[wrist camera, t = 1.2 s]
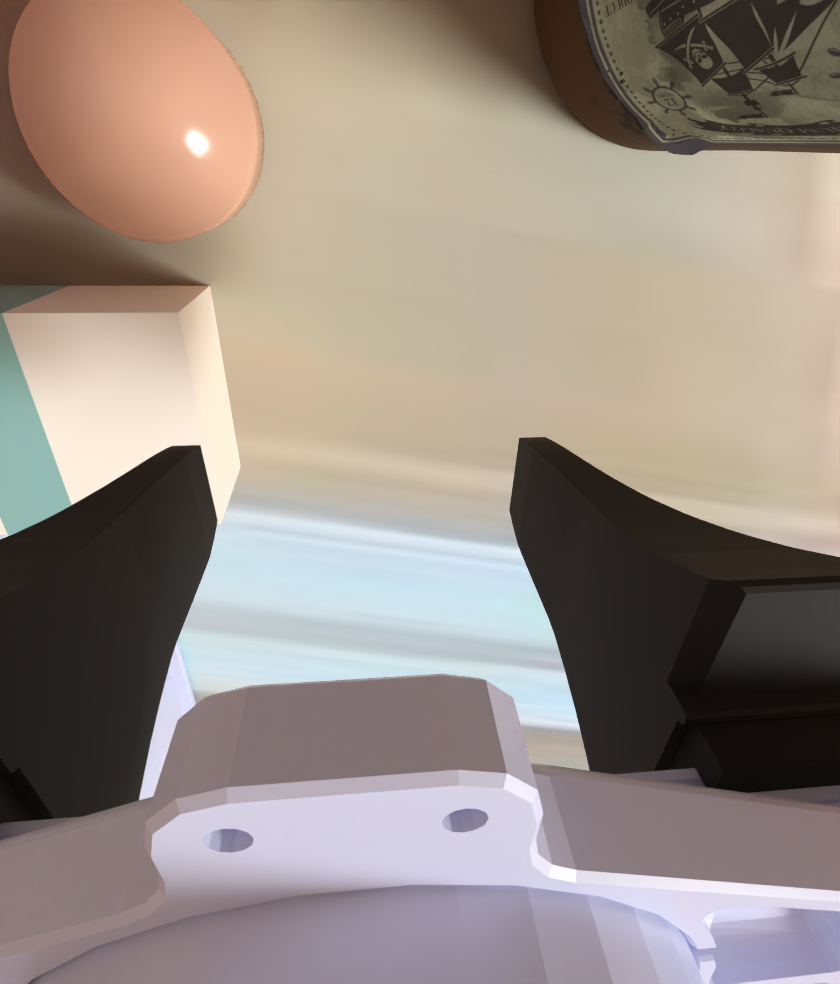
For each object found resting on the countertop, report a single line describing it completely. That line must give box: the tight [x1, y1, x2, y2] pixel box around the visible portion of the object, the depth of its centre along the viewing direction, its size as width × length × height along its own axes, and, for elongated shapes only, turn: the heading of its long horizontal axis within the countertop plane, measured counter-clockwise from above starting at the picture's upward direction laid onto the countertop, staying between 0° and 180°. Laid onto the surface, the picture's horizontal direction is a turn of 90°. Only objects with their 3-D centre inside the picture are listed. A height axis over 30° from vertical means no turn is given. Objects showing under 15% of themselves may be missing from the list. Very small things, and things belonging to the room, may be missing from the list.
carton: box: [0, 285, 241, 535], centre depth 19 cm, size 8×9×4 cm
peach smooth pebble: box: [9, 0, 264, 242], centre depth 16 cm, size 6×6×3 cm
